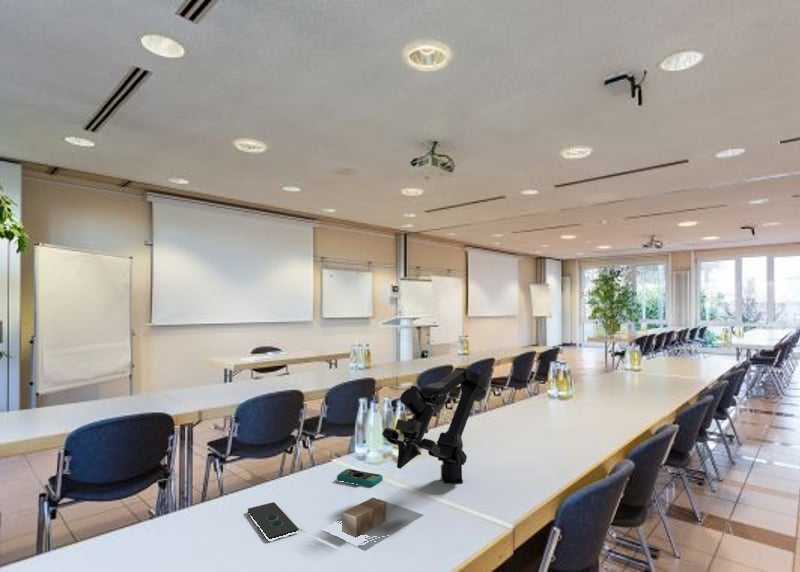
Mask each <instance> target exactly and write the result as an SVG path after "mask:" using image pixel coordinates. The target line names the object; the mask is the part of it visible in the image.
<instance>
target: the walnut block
mask: <svg viewBox="0 0 800 572" xmlns="http://www.w3.org/2000/svg"><path fill="white" fill-rule="evenodd" d="M379 499H380V498H376V497H371V498H369V499H367V500H365V501H363V502H360V503H359V504H356V505H355V506H352V507H350V508H348V509H346V510H343V511H342V512H341V518H342V532H344V533H346V534H348V535H351V536H353V537H355V538H356V537H358V536H360V535H362V534H364V533H365V532H367V531H369V530H371V529H373V528H374V527H376V526H378V525H380V524H381V523H383V522H385V521H386V502H387V501H386V502H384V501H385V500H383V499H381V500H379ZM382 500H383V501H382Z"/></svg>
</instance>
